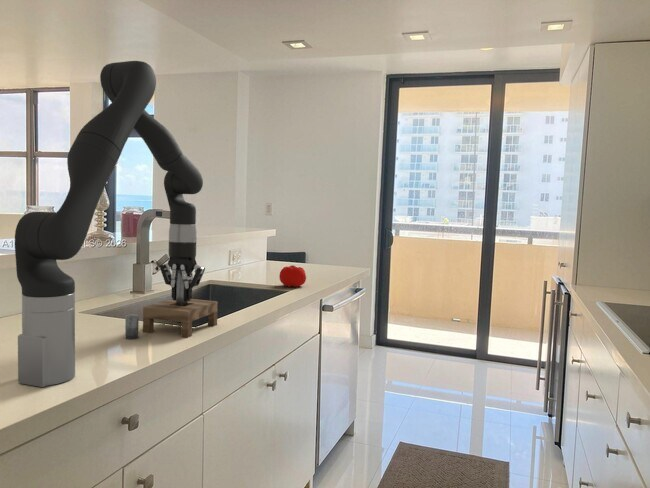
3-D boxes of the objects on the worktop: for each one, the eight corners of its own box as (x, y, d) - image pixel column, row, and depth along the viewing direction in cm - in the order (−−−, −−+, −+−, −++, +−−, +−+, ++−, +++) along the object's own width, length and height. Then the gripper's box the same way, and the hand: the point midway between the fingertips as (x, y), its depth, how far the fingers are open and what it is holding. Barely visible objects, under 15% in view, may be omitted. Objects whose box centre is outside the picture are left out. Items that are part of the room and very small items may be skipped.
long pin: (183, 323, 144) (184, 270, 143) (173, 322, 145) (174, 269, 143) (189, 321, 147) (190, 269, 146) (179, 319, 148) (180, 268, 147)
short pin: (133, 340, 132) (133, 317, 132) (122, 338, 133) (122, 315, 133) (140, 337, 135) (141, 314, 135) (130, 335, 136) (130, 313, 136)
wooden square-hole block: (187, 337, 136) (188, 311, 136) (142, 332, 140) (143, 306, 140) (217, 324, 151) (217, 301, 151) (175, 320, 155) (176, 297, 155)
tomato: (305, 288, 222) (305, 268, 221) (277, 287, 222) (278, 267, 222) (306, 284, 233) (307, 265, 232) (280, 283, 233) (280, 264, 232)
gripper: (153, 239, 142) (152, 300, 144) (197, 242, 138) (196, 305, 140) (168, 238, 149) (167, 296, 151) (211, 240, 145) (210, 300, 147)
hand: (181, 300), depth 145 cm, fingers closed on long pin, 3 cm apart
